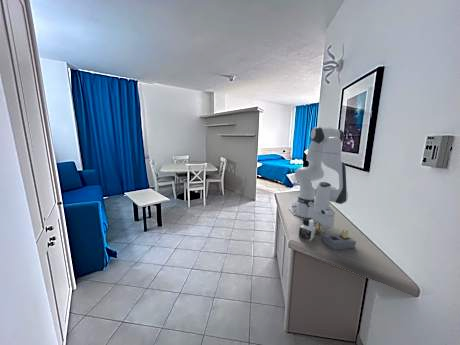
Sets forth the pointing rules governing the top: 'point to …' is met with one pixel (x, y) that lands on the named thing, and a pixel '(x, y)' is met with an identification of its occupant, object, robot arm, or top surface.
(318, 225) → the pin
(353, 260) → the top surface
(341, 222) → the top surface
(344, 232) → the pin
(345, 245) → the block
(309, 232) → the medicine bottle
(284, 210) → the top surface
